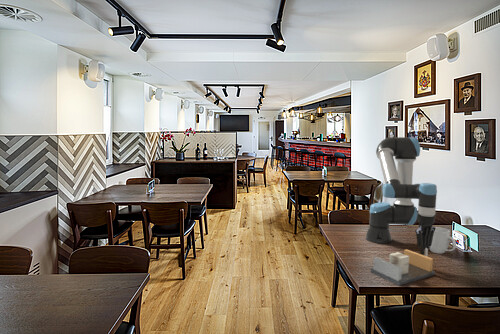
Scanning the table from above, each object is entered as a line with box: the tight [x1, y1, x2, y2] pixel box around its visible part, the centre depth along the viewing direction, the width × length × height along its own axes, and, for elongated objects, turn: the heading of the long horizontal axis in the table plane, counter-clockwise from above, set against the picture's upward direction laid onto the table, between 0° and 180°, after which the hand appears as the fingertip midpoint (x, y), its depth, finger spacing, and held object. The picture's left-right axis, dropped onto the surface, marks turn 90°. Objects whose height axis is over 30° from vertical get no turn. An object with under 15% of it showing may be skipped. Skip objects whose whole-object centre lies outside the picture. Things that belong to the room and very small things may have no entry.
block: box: [388, 251, 409, 274], centre depth 152 cm, size 6×6×8 cm
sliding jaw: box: [403, 249, 434, 272], centre depth 158 cm, size 14×2×6 cm, turn 27°
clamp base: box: [370, 256, 436, 287], centre depth 153 cm, size 16×25×8 cm, turn 117°
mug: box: [429, 226, 457, 255], centre depth 180 cm, size 15×11×13 cm
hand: (423, 260), depth 161 cm, fingers closed
